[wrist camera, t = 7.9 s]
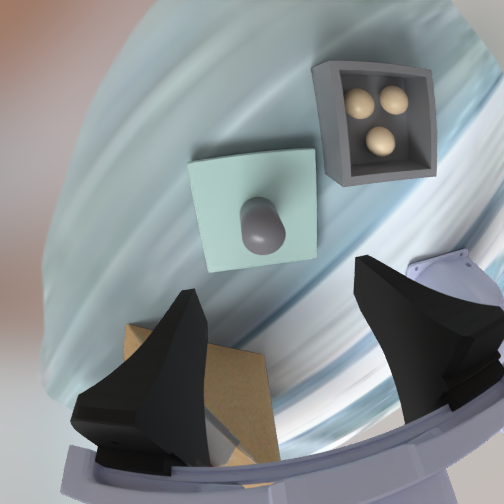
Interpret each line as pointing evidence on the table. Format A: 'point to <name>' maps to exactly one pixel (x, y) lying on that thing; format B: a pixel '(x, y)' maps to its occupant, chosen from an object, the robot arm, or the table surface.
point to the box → (376, 121)
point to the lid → (256, 208)
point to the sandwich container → (231, 404)
